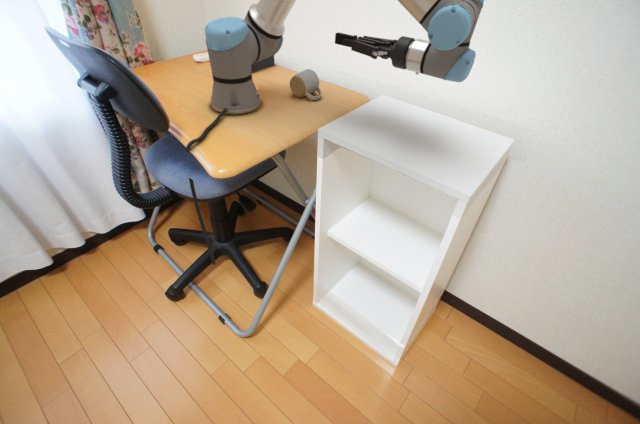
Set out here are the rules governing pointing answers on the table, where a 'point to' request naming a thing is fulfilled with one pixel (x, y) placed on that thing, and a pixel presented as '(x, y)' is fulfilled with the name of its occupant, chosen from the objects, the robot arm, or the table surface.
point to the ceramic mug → (305, 84)
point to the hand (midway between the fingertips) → (336, 38)
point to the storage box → (262, 64)
